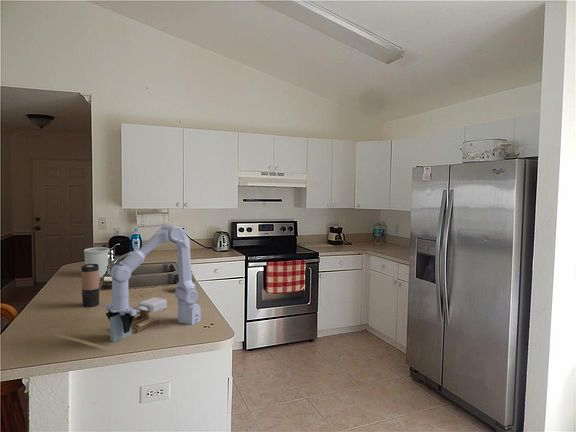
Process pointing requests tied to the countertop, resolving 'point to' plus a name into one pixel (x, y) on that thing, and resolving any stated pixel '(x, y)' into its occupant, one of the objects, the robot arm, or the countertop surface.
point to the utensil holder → (97, 258)
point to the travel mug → (90, 285)
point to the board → (117, 328)
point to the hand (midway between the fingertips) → (121, 330)
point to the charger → (152, 305)
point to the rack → (143, 316)
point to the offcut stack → (142, 323)
